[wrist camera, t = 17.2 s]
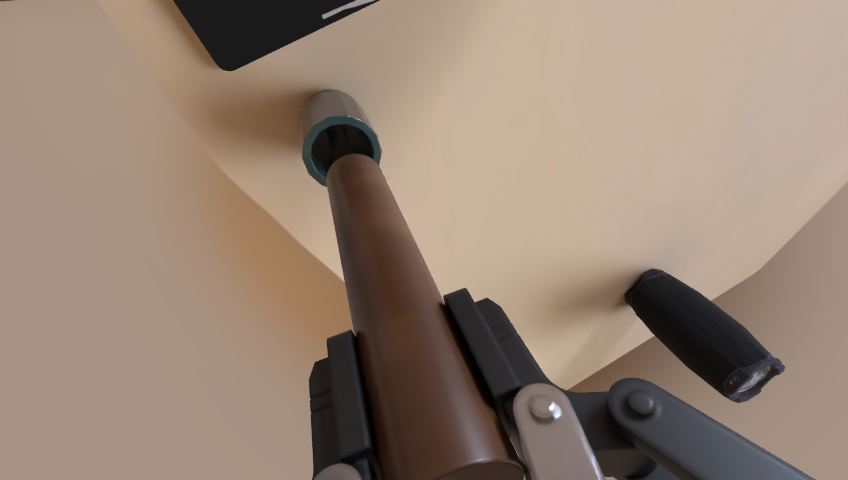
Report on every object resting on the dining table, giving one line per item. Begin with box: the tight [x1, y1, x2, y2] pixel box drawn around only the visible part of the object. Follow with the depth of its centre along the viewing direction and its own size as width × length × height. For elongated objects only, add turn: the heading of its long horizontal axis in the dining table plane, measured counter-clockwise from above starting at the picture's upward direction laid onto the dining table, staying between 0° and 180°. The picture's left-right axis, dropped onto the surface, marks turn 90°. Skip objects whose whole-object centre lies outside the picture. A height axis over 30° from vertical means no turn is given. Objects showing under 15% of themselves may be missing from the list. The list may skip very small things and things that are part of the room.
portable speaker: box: [625, 269, 785, 403], centre depth 57 cm, size 9×9×20 cm
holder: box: [300, 90, 382, 187], centre depth 32 cm, size 6×6×8 cm
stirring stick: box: [326, 154, 524, 480], centre depth 14 cm, size 3×3×16 cm
